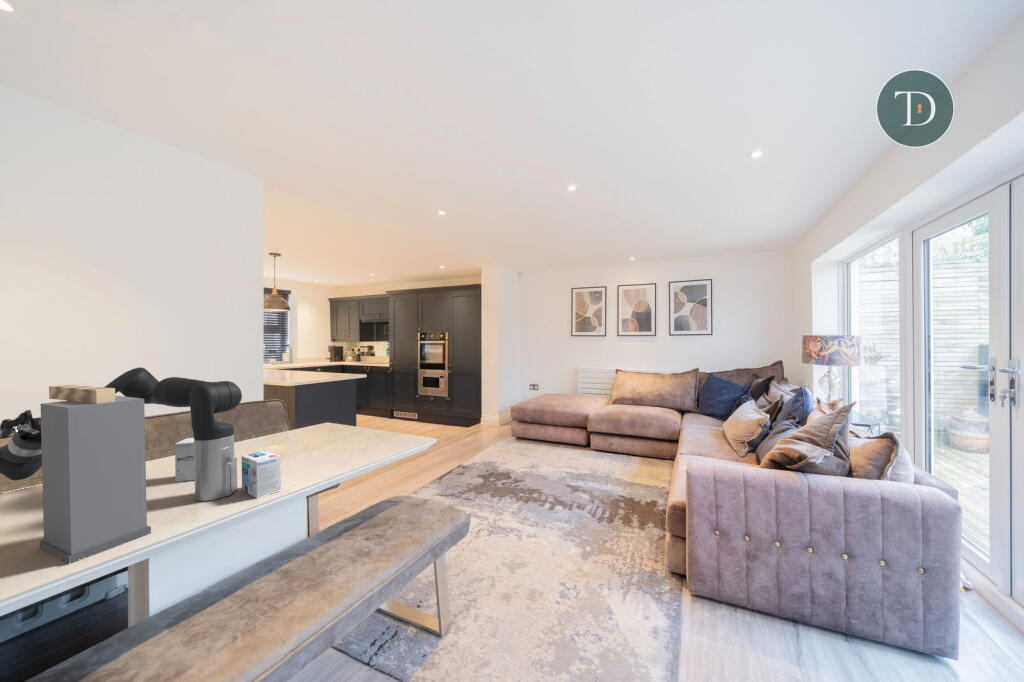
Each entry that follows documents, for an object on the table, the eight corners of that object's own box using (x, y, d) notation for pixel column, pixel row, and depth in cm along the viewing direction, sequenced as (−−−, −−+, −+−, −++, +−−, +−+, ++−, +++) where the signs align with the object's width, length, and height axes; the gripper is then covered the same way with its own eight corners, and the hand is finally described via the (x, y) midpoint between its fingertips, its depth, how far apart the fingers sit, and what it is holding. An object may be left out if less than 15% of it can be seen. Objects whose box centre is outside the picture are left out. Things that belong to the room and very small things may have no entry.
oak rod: (49, 398, 89) (48, 386, 89) (67, 396, 92) (67, 384, 92) (96, 403, 81) (96, 390, 81) (115, 401, 84) (115, 388, 84)
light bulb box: (241, 491, 112) (240, 455, 112) (265, 483, 118) (265, 449, 118) (257, 499, 106) (256, 461, 106) (282, 491, 112) (281, 455, 112)
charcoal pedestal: (39, 548, 82) (35, 403, 82) (120, 521, 94) (117, 395, 94) (69, 564, 76) (65, 408, 76) (150, 533, 88) (147, 398, 88)
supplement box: (174, 482, 119) (173, 443, 119) (187, 474, 126) (186, 437, 126) (201, 480, 121) (200, 441, 121) (213, 472, 128) (212, 435, 128)
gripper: (-14, 430, 93) (6, 401, 87) (71, 419, 106) (93, 392, 100) (-8, 458, 92) (13, 430, 86) (77, 443, 105) (100, 417, 99)
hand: (56, 410), depth 93 cm, fingers open, 8 cm apart
